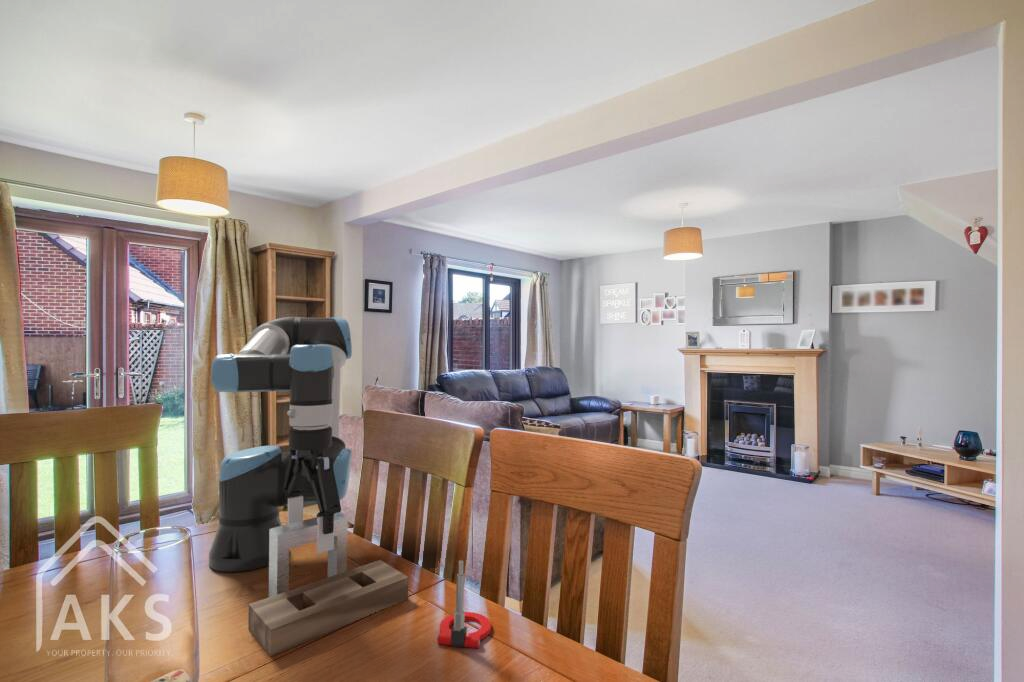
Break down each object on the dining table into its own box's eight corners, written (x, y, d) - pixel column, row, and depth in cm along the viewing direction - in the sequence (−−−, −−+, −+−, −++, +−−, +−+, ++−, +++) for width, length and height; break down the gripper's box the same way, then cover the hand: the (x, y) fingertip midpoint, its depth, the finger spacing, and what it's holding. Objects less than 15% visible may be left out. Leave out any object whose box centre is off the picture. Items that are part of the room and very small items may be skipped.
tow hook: (447, 616, 86) (430, 645, 77) (449, 540, 86) (433, 561, 77) (495, 621, 84) (483, 651, 75) (497, 544, 85) (486, 565, 76)
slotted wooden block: (248, 628, 81) (248, 604, 81) (380, 580, 98) (380, 559, 98) (270, 656, 73) (270, 629, 73) (408, 598, 90) (408, 577, 90)
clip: (268, 600, 89) (269, 528, 89) (337, 577, 99) (338, 512, 99) (276, 609, 87) (277, 535, 87) (346, 584, 96) (347, 517, 96)
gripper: (266, 421, 99) (264, 527, 99) (319, 437, 81) (318, 567, 81) (303, 417, 104) (302, 518, 104) (361, 432, 87) (360, 554, 86)
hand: (309, 540), depth 92 cm, fingers open, 13 cm apart
